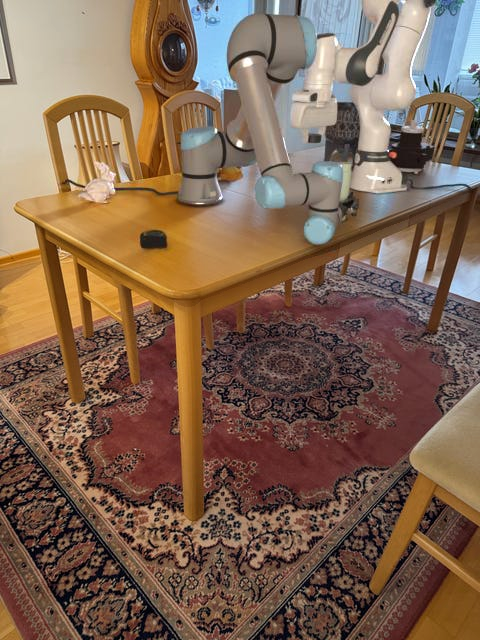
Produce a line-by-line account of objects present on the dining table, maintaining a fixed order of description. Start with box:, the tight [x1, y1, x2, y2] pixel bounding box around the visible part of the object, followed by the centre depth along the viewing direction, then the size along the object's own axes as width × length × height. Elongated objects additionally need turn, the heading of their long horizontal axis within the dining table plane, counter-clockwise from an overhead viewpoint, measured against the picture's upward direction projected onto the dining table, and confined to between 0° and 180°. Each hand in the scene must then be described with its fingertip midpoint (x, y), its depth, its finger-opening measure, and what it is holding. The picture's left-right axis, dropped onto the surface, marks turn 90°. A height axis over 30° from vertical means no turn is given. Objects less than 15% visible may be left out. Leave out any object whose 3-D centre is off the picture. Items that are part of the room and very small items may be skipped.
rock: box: [335, 147, 352, 154], centre depth 243 cm, size 13×9×6 cm, turn 131°
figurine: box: [77, 160, 117, 204], centre depth 150 cm, size 8×15×13 cm, turn 145°
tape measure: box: [139, 229, 168, 250], centre depth 117 cm, size 7×7×4 cm
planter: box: [323, 101, 360, 167], centre depth 204 cm, size 20×20×26 cm
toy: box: [217, 167, 244, 183], centre depth 183 cm, size 11×6×15 cm
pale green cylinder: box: [338, 161, 353, 222], centre depth 138 cm, size 4×4×17 cm
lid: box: [308, 132, 322, 144], centre depth 147 cm, size 6×6×2 cm
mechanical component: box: [388, 119, 436, 175], centre depth 204 cm, size 22×21×30 cm
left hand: (343, 195), depth 144 cm, fingers closed on pale green cylinder, 5 cm apart
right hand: (312, 141), depth 148 cm, fingers closed on lid, 5 cm apart
